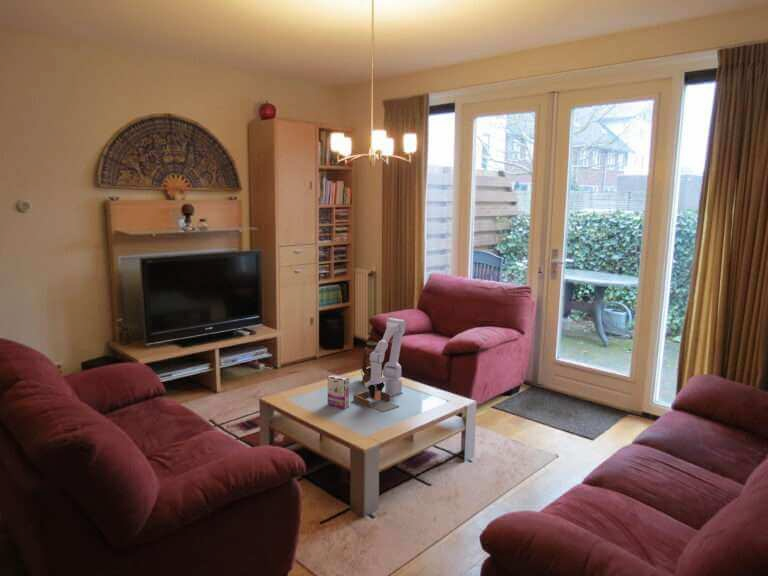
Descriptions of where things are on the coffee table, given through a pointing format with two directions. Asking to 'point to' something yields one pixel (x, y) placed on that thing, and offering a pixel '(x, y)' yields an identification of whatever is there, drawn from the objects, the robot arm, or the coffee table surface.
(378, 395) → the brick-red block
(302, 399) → the coffee table surface
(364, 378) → the lantern
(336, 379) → the candy bar box
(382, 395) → the walnut arch
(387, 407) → the grey mat
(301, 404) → the coffee table surface
